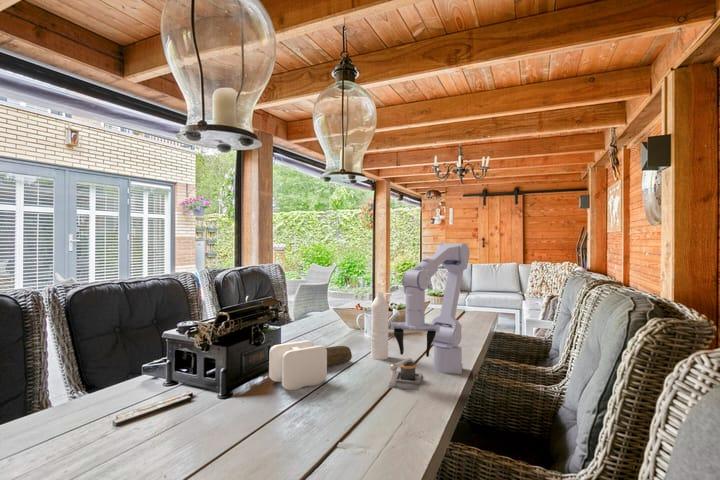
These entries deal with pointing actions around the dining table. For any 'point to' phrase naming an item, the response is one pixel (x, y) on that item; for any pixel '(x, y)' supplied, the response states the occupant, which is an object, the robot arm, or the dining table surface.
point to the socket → (404, 381)
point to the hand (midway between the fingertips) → (414, 354)
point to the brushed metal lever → (400, 363)
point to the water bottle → (379, 327)
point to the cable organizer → (298, 364)
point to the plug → (408, 371)
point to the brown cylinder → (338, 355)
